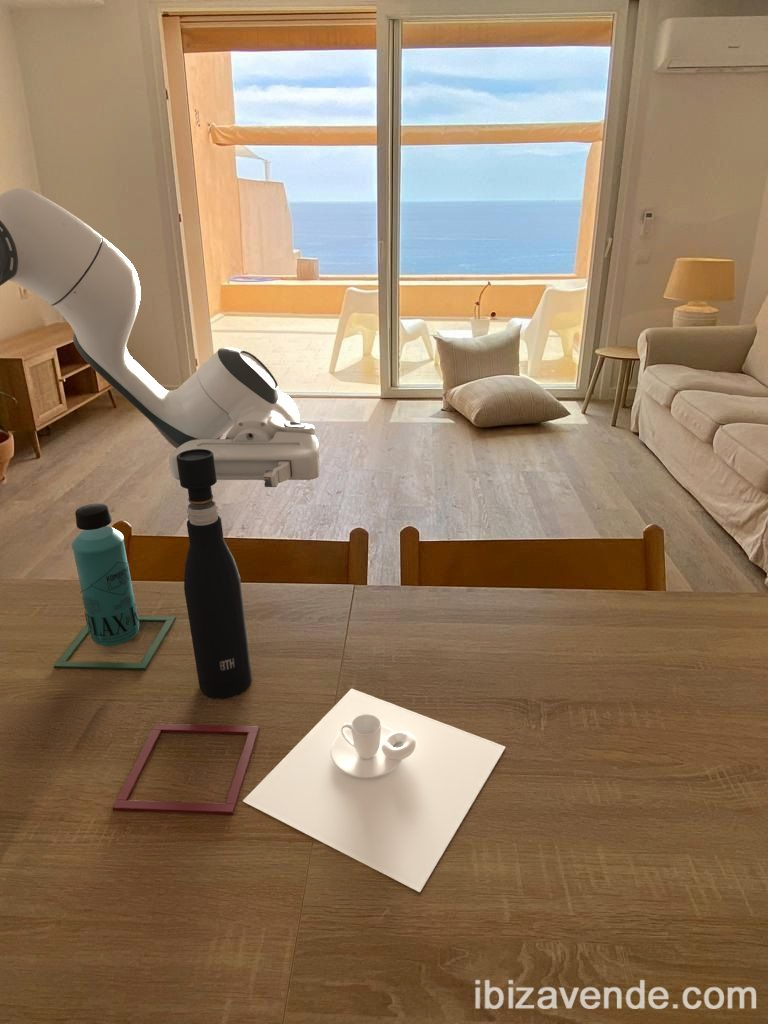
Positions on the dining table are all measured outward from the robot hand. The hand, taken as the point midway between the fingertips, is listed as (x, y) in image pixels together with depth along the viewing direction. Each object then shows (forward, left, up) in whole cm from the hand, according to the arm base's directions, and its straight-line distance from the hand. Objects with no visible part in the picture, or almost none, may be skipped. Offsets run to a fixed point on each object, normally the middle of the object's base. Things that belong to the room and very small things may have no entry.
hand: (233, 481), depth 88 cm
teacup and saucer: (+20, -26, -22) cm, 40 cm away
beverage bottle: (-17, -4, -22) cm, 28 cm away
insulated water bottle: (0, -12, -22) cm, 25 cm away
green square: (-17, -4, -22) cm, 28 cm away
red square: (0, -26, -22) cm, 34 cm away
